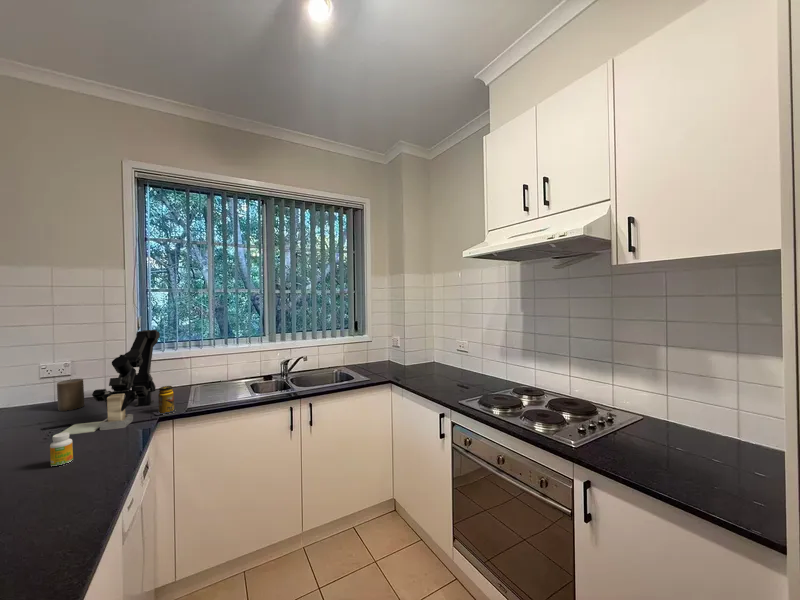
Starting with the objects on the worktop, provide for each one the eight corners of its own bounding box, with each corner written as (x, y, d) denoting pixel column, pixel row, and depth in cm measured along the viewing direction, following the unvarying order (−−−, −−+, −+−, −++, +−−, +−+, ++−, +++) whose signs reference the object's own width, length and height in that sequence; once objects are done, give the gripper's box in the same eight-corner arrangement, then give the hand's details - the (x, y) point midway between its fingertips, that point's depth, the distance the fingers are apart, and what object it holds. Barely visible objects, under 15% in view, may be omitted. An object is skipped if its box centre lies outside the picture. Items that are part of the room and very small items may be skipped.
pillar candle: (87, 406, 173) (86, 377, 173) (61, 412, 165) (60, 381, 165) (80, 404, 178) (79, 375, 178) (54, 409, 170) (53, 379, 170)
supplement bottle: (53, 469, 111) (52, 439, 111) (48, 464, 114) (47, 435, 114) (75, 461, 116) (74, 433, 116) (70, 458, 119) (69, 430, 118)
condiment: (176, 411, 164) (175, 387, 164) (154, 416, 158) (154, 390, 158) (173, 408, 169) (172, 384, 169) (152, 412, 163) (151, 387, 163)
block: (113, 424, 149) (112, 394, 149) (125, 422, 151) (124, 393, 150) (108, 428, 145) (107, 397, 145) (121, 426, 147) (119, 396, 146)
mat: (74, 425, 149) (74, 424, 149) (108, 421, 153) (108, 420, 153) (56, 436, 138) (56, 435, 138) (93, 431, 141) (93, 430, 141)
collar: (109, 423, 151) (109, 416, 151) (133, 420, 153) (132, 413, 153) (99, 430, 143) (99, 423, 143) (124, 427, 145) (124, 420, 145)
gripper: (93, 371, 148) (79, 404, 138) (144, 367, 154) (134, 399, 144) (103, 384, 156) (91, 417, 146) (151, 381, 162) (143, 411, 151)
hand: (115, 411), depth 146 cm, fingers closed on block, 4 cm apart
